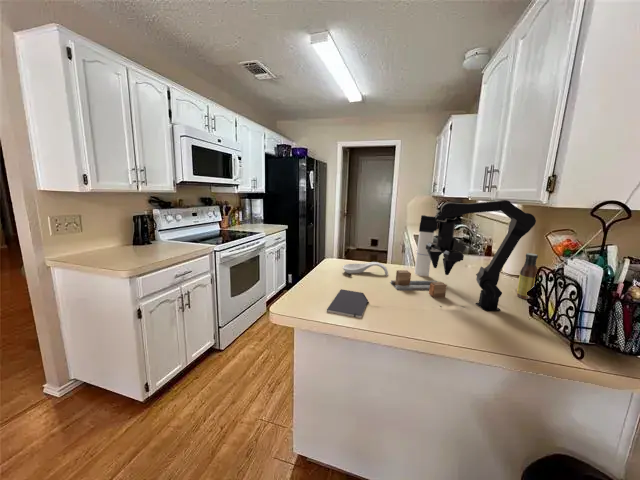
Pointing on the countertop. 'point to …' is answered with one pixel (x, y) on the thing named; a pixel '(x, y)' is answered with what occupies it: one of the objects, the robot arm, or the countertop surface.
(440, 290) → the brown wooden block
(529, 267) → the sauce bottle
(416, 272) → the cylindrical container
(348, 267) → the spoon rest
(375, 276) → the countertop surface
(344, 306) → the notebook
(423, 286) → the rail
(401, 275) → the fixed walnut finger
